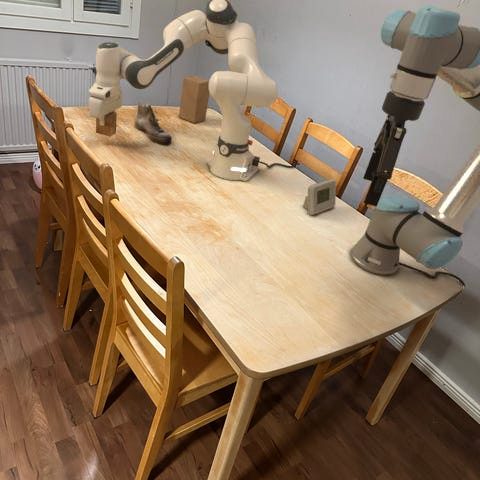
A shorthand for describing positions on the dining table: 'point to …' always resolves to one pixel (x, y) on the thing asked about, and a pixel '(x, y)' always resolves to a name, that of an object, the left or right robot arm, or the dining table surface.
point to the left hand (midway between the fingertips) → (106, 123)
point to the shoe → (151, 124)
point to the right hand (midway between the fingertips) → (369, 191)
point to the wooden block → (194, 99)
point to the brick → (107, 125)
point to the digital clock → (320, 196)
